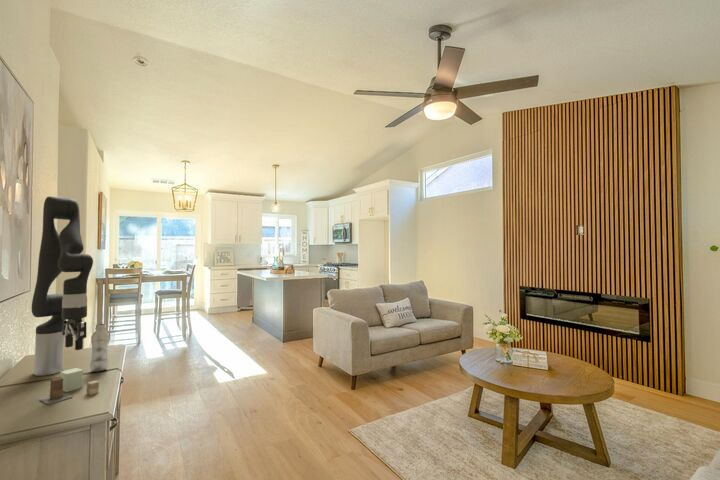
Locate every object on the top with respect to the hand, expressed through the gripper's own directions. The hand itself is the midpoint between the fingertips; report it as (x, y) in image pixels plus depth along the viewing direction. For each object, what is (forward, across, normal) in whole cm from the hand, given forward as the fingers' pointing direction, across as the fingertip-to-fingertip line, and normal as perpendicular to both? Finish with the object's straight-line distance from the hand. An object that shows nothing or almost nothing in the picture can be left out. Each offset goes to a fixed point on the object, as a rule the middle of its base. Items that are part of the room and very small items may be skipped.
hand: (73, 348), depth 133 cm
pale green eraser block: (+15, 0, 0) cm, 15 cm away
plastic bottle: (+15, -14, +14) cm, 25 cm away
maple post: (+15, +11, +2) cm, 19 cm away
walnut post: (+15, +7, -7) cm, 18 cm away
